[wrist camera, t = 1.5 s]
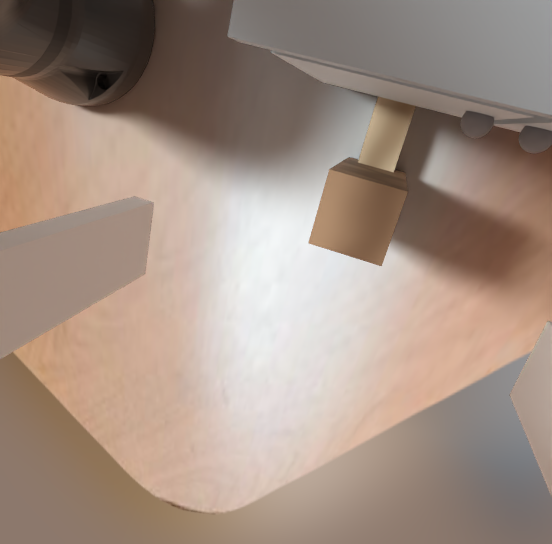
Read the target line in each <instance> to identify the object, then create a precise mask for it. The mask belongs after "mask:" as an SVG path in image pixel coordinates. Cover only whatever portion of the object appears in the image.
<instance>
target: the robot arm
mask: <svg viewBox="0 0 552 544" xmlns="http://www.w3.org/2000/svg"><path fill="white" fill-rule="evenodd" d="M154 27H155V20H154V7H153V1H152V0H0V75H2V76H9V77H13V78H15V79H17V80H19V81H20V82H22V83H24V84H26V85H28V86H29V87H31V88H33V89H35V90H36V91H38V92H40V93H42V94H44V95H45V96H47V97H49V98H51V99H54V100H56V101H59V102H63V103H67V104H72V105H85V106H97V105H103V104H107V103H110V102H112V101H114V100H116V99H118V98H120V97H121V96H123V95H124V94H125V93H127V92H128V91H129V90H130V89H131V88H132V87H133V86H134V85H135V83H136V82H137V81H138V79H139V78H140V76H141V75H142V73H143V71H144V69H145V67H146V65H147V62H148V59H149V57H150V53H151V50H152V45H153V39H154ZM153 206H154V202H151V201H148V200H145V199H141V198H138V197H135V196H134V197H131V198H127V199H123V200H119V201H116V202H112V203H108V204H105V205H101V206H97V207H93V208H90V209H86V210H82V211H79V212H75V213H71V214H67V215H64V216H60V217H56V218H53V219H49V220H45V221H41V222H38V223H34V224H30V225H27V226H23V227H19V228H16V229H12V230H8V231H4V232H1V233H0V359H1V358H3V357H5V356H6V355H8V354H10V353H11V352H13V351H15V350H17V349H18V348H20V347H22V346H23V345H25V344H27V343H28V342H30V341H32V340H34V339H35V338H37V337H39V336H40V335H42V334H44V333H45V332H47V331H49V330H51V329H52V328H54V327H56V326H57V325H59V324H61V323H63V322H64V321H66V320H68V319H69V318H71V317H73V316H74V315H76V314H78V313H80V312H81V311H83V310H85V309H86V308H88V307H90V306H91V305H93V304H95V303H97V302H98V301H100V300H102V299H103V298H105V297H107V296H108V295H110V294H112V293H114V292H115V291H117V290H119V289H120V288H122V287H124V286H126V285H127V284H129V283H131V282H132V281H134V280H136V279H137V278H139V277H141V276H143V275H144V274H145V271H146V263H147V255H148V247H149V239H150V231H151V223H152V214H153ZM510 397H511V400H512V402H513V405H514V406H515V409H516V412H517V414H518V417H519V419H520V422H521V424H522V426H523V429H524V431H525V434H526V436H527V438H528V441H529V443H530V446H531V448H532V451H533V453H534V455H535V458H536V460H537V463H538V465H539V468H540V470H541V472H542V475H543V477H544V479H545V482H546V484H547V487H548V489H549V492H550V494H551V496H552V322H550V321H547V323H546V325H545V327H544V329H543V331H542V333H541V335H540V337H539V339H538V341H537V342H536V344H535V346H534V348H533V350H532V352H531V354H530V356H529V358H528V360H527V362H526V364H525V366H524V368H523V370H522V372H521V373H520V375H519V377H518V379H517V381H516V383H515V385H514V387H513V389H512V391H511V393H510Z"/></svg>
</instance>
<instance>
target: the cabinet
mask: <svg viewBox="0 0 552 544" xmlns="http://www.w3.org/2000/svg"><path fill="white" fill-rule="evenodd" d="M227 37H229V38H231V39H233V40H235V41H237V42H240V43H244V44H248V45H252V46H256V47H260V48H264V49H269V50H271V53H272V54H274V55H276V56H277V57H279V58H281V59H283V60H284V61H286V62H288V63H289V64H291V65H293V66H295V67H296V68H298V69H300V70H302V71H303V72H305V73H307V74H308V75H310V76H312V77H314V78H315V79H317V80H319V81H321V82H323V83H327V84H331V85H335V86H339V87H343V88H346V89H350V90H354V91H358V92H362V93H366V94H370V95H374V96H378V97H382V98H386V99H390V100H394V101H398V102H402V103H406V104H410V105H414V106H418V107H422V108H426V109H430V110H434V111H438V112H442V113H446V114H450V115H454V116H458V117H461V122H460V126H461V130H462V132H463V133H464V134H465V135H466V136H468V137H470V138H480V137H483V136H485V135H486V134H487V133H489V132H490V130H491V129H492V127H493V126H497V127H501V128H505V129H509V130H513V131H517V132H520V135H519V144H520V146H521V148H522V149H523V150H524V151H526V152H528V153H540V152H543V151H545V150H547V149H548V148H549V147H550V146H551V145H552V0H234V1H233V7H232V13H231V18H230V24H229V30H228V35H227Z"/></svg>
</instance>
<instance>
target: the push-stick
mask: <svg viewBox="0 0 552 544" xmlns="http://www.w3.org/2000/svg"><path fill="white" fill-rule="evenodd" d="M415 108H416V106H414V105H410V104H406V103H402V102H398V101H394V100H390V99H386V98H382V97H378V98H377V101H376V105H375V108H374V111H373V114H372V118H371V121H370V124H369V128H368V131H367V134H366V137H365V141H364V144H363V147H362V150H361V154H360V157H359V160H358V159H354V158H350V157H349V158H347V159H345V160H344V161H342V162H341V163H339V164H337V165H336V166H334V167H332V168H331V169H329V173H328V176H327V180H326V183H325V187H324V190H323V194H322V197H321V201H320V204H319V208H318V211H317V215H316V218H315V222H314V225H313V229H312V232H311V236H310V239H309V243H310V244H313V245H316V246H319V247H322V248H325V249H329V250H332V251H335V252H338V253H341V254H344V255H348V256H351V257H354V258H357V259H360V260H363V261H367V262H370V263H373V264H376V265H379V266H382V263H383V260H384V258H385V255H386V252H387V249H388V246H389V244H390V241H391V238H392V235H393V232H394V230H395V227H396V224H397V221H398V218H399V216H400V213H401V210H402V207H403V205H404V202H405V199H406V196H407V193H408V188H407V181H406V174H405V173H404V172H401V171H397V170H395V167H396V164H397V161H398V158H399V155H400V152H401V149H402V146H403V143H404V140H405V137H406V134H407V131H408V128H409V125H410V123H411V120H412V117H413V114H414V111H415Z"/></svg>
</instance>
